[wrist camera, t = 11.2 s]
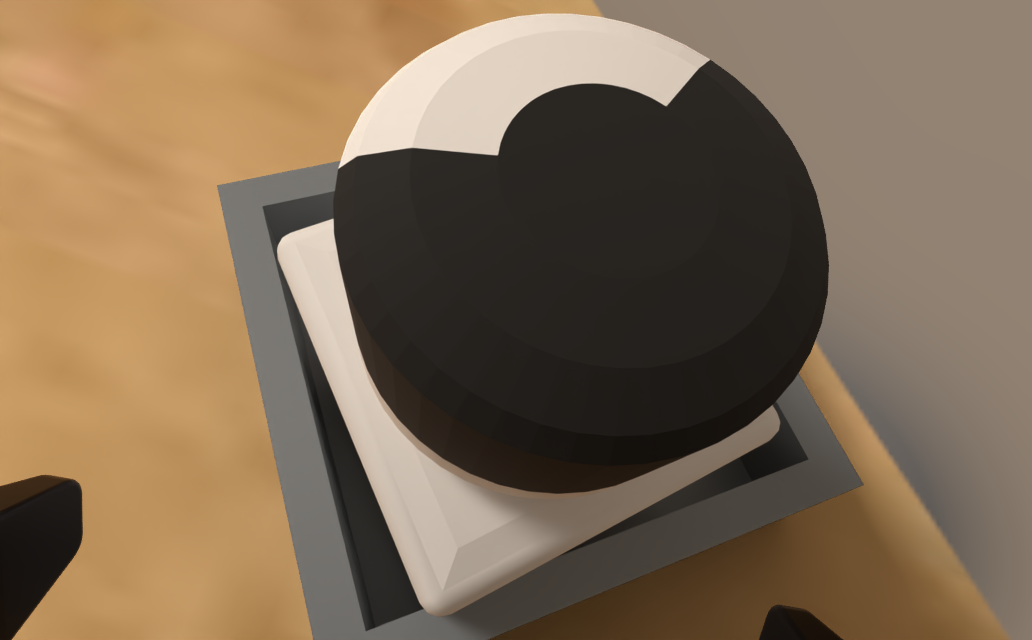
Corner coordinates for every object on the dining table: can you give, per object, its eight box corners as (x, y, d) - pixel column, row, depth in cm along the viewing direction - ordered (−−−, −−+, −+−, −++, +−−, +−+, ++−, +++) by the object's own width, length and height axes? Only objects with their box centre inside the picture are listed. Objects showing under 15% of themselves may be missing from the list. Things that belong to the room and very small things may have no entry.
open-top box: (784, 515, 19) (863, 484, 16) (351, 692, 16) (327, 706, 12) (609, 181, 24) (639, 101, 21) (253, 263, 21) (217, 185, 17)
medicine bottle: (656, 480, 18) (1040, 335, 7) (422, 605, 16) (445, 676, 5) (542, 270, 20) (702, -105, 9) (320, 357, 18) (171, 11, 7)
